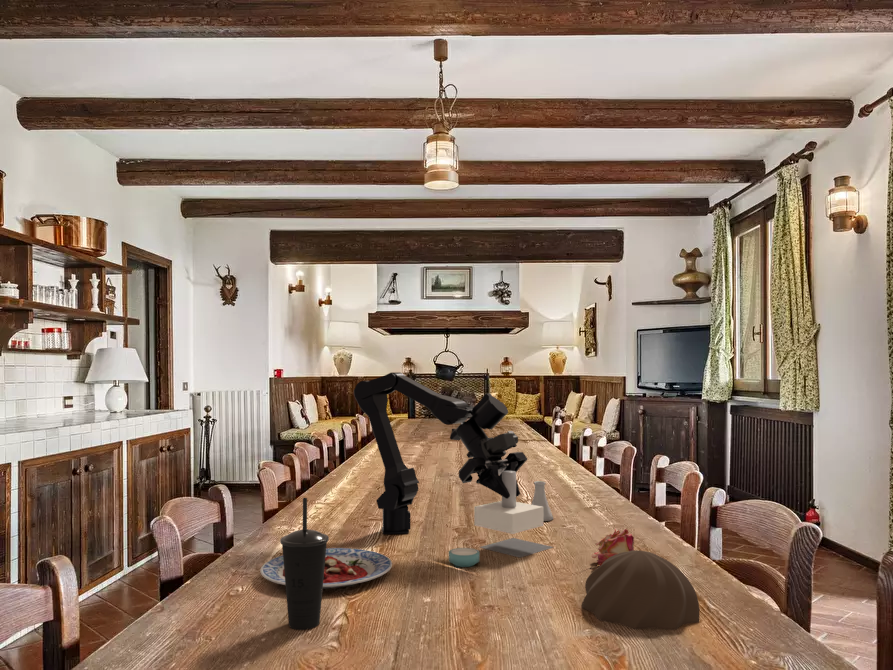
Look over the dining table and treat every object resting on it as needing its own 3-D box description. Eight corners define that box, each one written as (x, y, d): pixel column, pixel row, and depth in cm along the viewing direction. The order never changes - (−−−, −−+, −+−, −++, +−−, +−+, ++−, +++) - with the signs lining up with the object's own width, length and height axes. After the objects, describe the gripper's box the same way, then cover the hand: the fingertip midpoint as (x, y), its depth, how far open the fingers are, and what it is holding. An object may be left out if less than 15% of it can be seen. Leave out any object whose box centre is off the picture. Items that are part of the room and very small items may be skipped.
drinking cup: (283, 616, 112) (284, 494, 113) (330, 614, 113) (330, 493, 114) (275, 634, 105) (277, 503, 106) (325, 632, 105) (326, 502, 106)
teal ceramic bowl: (451, 570, 137) (451, 556, 138) (446, 561, 144) (446, 548, 144) (482, 569, 138) (482, 555, 138) (476, 560, 145) (476, 547, 145)
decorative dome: (717, 633, 105) (715, 568, 105) (586, 628, 107) (586, 564, 108) (686, 593, 124) (685, 537, 125) (576, 589, 126) (576, 535, 127)
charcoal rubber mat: (479, 548, 154) (479, 547, 154) (513, 539, 162) (513, 537, 162) (520, 559, 145) (520, 557, 145) (553, 548, 154) (553, 547, 154)
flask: (552, 522, 180) (552, 484, 181) (525, 521, 182) (525, 483, 182) (554, 516, 187) (553, 480, 188) (527, 515, 189) (527, 479, 189)
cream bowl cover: (474, 525, 152) (474, 471, 153) (505, 517, 160) (505, 466, 161) (512, 534, 145) (512, 477, 145) (543, 525, 153) (543, 471, 153)
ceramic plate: (278, 606, 118) (278, 589, 118) (248, 568, 140) (248, 553, 141) (413, 584, 129) (413, 568, 130) (365, 552, 152) (365, 539, 152)
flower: (648, 556, 141) (626, 522, 144) (646, 558, 133) (622, 522, 136) (609, 580, 142) (587, 546, 146) (604, 584, 134) (582, 548, 137)
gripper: (468, 422, 150) (506, 478, 141) (521, 417, 163) (559, 469, 155) (442, 454, 155) (478, 510, 147) (495, 447, 168) (531, 499, 160)
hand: (513, 496), depth 152 cm, fingers closed on cream bowl cover, 3 cm apart
